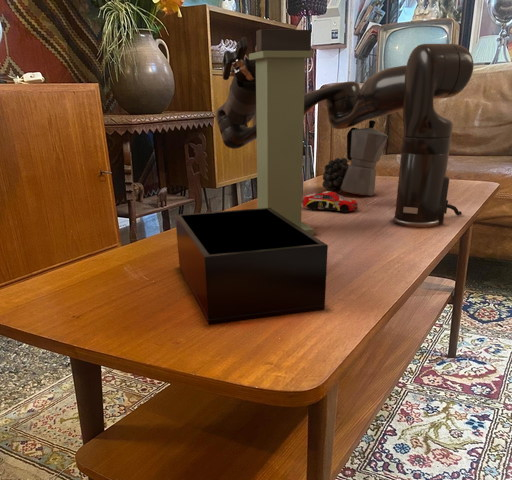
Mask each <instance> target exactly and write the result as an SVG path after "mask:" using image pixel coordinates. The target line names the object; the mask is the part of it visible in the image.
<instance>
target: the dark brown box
mask: <svg viewBox="0 0 512 480" xmlns="http://www.w3.org/2000/svg"><path fill="white" fill-rule="evenodd" d="M255 33H256V35H255V36H256V38H255V39H256V41H255V42H256V43H255V44H256V45H255V53H256V52H260V51H312V29H282V28H281V29H280V28H279V29H277V28H275V29H274V28H273V29H271V28H269V29H268V28H266V29H265V28H260V29H258V30H256V32H255Z"/></svg>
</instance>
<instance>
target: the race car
mask: <svg viewBox="0 0 512 480" xmlns="http://www.w3.org/2000/svg"><path fill="white" fill-rule="evenodd" d="M358 203H359V202H358V201H357V200H356V199H353V198H350V197H345V196H343V195H341V194H339V193H337V192H335V191H334V192H330V191H327V190H326V191H317V192H314V193H309V194H306V195H305V196H303V200H302V206H303V207H304V208H307V209H309V210H310V211H316V210H324V211H325V210H327V211H339V212H340V211H341V213H343V214H347V213H348V212H350V211H351V212H352V211H356V210H358V209H359V204H358Z"/></svg>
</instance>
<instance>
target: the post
mask: <svg viewBox="0 0 512 480" xmlns="http://www.w3.org/2000/svg"><path fill="white" fill-rule="evenodd" d="M248 58H249V60H256V122H257V139H256V186H257V187H256V189H257V190H256V193H257V195H256V197H257V199H256V200H257V209H259V208H271V209H273V210H274V211H276V212H277V213H279V214H280V215H282V216H284V217H285V218H287V219H288V220H290V221H291V222H293V223H294V224H296V225H297V226H299V227H300V228H302V229H304V230H305V231H307V232H308V233H310V234H311V235H313V236H314V235H315V229H314V228H313V227H311V225H308V224H306V223H305V222H303V221H302V206H303V199H302V171H303V165H304V164H303V163H304V161H303V160H304V127H305V126H304V124H305V123H304V122H305V121H304V120H305V119H304V118H305V115H304V94H305V88H306V87H305V82H306V79H305V78H306V59H312V58H314V51H313V50H311V51H260V52H256V51H255V52H252V53H249V54H248Z"/></svg>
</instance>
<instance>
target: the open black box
mask: <svg viewBox="0 0 512 480" xmlns="http://www.w3.org/2000/svg"><path fill="white" fill-rule="evenodd" d="M174 218H175V227H176V240H177V241H176V242H177V252H178V253H177V254H178V265H179V270H180V272H181V274H182V276H183V277H184V280H185V281H186V283H187V285H188V288H189V289H190V292H191V293H192V295H193V297H194V299H195V301H196V303H197V305H198V307H199V309H200V311H201V313H202V315H203V317H204V319H205V321H206V323H207V324H208V326H213V325H221V324H228V323H235V322H244V321H250V320H251V321H252V320H259V319H267V318H275V317H282V316H290V315H296V314H305V313H312V312H321V311H325V307H326V290H327V269H328V268H327V267H328V251H329V250H328V248H329V245H328V244H327V243H325V242H323V241H322V240H321V239H320V238H317V237H316V236H314V235H311V234H310V233H308V232H307V231H305V230H304V229H302V228H300V227H299V226H297V225H296V224H294V223H293V222H291V221H290V220H288V219H287V218H285V217H284V216H282V215H280V214H279V213H277V212H276V211H274V210H273V209H271V208H259V209H258V208H246V209H235V210H233V209H232V210H219V211H207V212H192V213H183V214H175V215H174Z"/></svg>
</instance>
